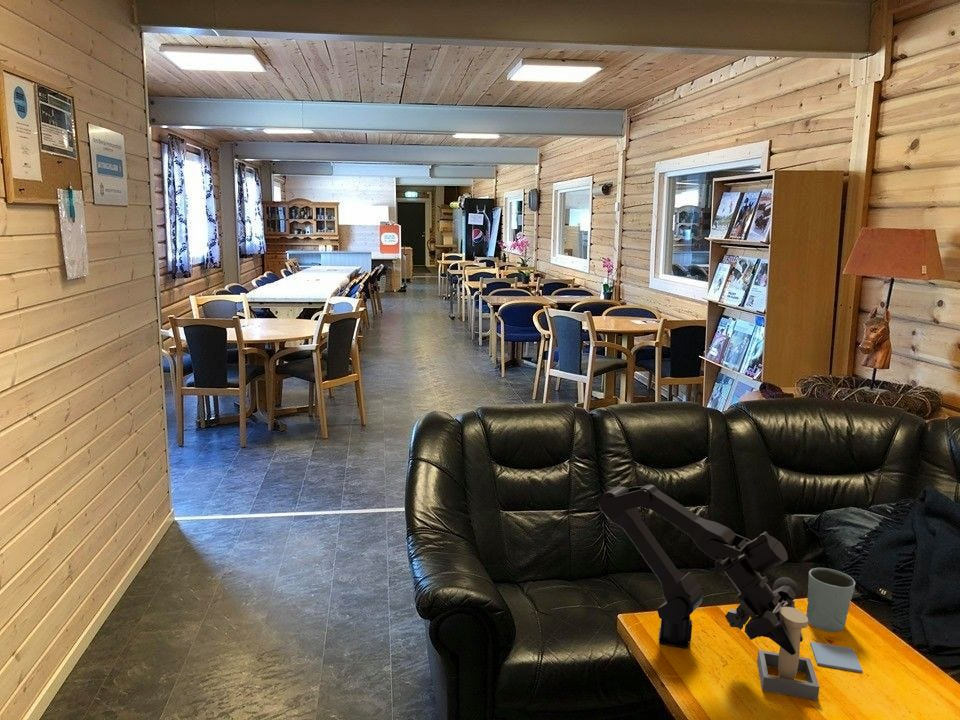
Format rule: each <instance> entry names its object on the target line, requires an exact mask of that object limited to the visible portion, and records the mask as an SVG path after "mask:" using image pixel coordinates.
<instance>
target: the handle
mask: <svg viewBox="0 0 960 720" xmlns="http://www.w3.org/2000/svg"><path fill="white" fill-rule="evenodd" d="M780 619H783V620H784V623H785V625H786V628H787V630H788V633H789V635H790V637H791V640H792V642H793V645H794V648H795V650H796V654H794V655H791V654H789V653H788V652H787V651H786V650H784V649H783V648H782V647H781V646H779V651H778V653H779V659H778V668H777V669H778V670H777V671H778V676H777V677H781V678H786V679H792V680H796V676H797V673H798V672H797V669H798V664H799V657H800V651H801V650H800V649H801V642H800V634H801V635H802V629H806V628H807V627H808V624H809V623H808V618H807V616H806V614H805V613H804V612H803V611H802V610H799V609H798V608H796V607H795V608H792V607H781V608H780Z"/></svg>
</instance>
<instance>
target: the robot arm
mask: <svg viewBox="0 0 960 720" xmlns="http://www.w3.org/2000/svg"><path fill="white" fill-rule="evenodd" d="M642 506H645V507H646V508H648V509H650V510H651V511H653V512H654V513H655V514H657V515H658V516H660V517H661V518H663V519H664V520H666V521H667V522H668V523H671V524H672V525H674V526H675V527H676V528H678V529H679V530H681V531H682V532H683V533H685V534H686V535H688V536H689V537H690V538H691V540H692V541H693V542H694V544H695V545H696V547H697V548H698V549H699V550H701V552H702V553H704V554H705V555H706V556H707V557H708V558H710V559H712V560H715V561H714V565H715V566H714V571H713V573H714V575H715V576H717V575H719V574H720V573H723V572H724V573H725V575H726V577H728V579H729V580H730V581H731V583H732V584H733V585H734V587H735V588H736V589H737V591H738V594H737V599H738V601H739V602H740V603H739V604H738V606H737V607H736V609H734V608H730V609H729V610H728V611H727V612H726V614H725V616H724V617H725V619H726V621H727V623H728V624H729V627H731V628H737V629H739V630H740V631H742V629H743V628H744V633H745V635H746V636H747V637H748V638H749V640H750V641H752V640H754V639H756V638H761V637H763V638H768V639H770V640H771V641H773V642H774V643H775V644H777V645H778V646H779V647H780V646H781V647H782V648H783V649H784V650H786V651H787V652H788V653H789V654H791V655H794V654H796V650H795V648H794V645H793V642H792V640H791V637H790V635H789V633H788V630H787V628H786V625H785V623H784V620H783V619H780V608H781V607H792V608H796V605H795V600H793V601H792V602H790V603H787V601H785V600H787V599H790V600H792V599H793V598H794V597H795V595H796V594H795V592H794V591H793V590H792V588H791V587H789V586H785V585H784V586H782V587H780V588H778V589H776V590H775V591H773V590H772V589H771V588H770V585H769V584H767V583H768V582H769V579H768V577H767V576H766V575H764V576H763V577H762V575H761V574H760V573H763V574H765V573H767V572H769V571H771V570H772V569H774V568H776V567H778V566H779V565H781V564H783V563H784V562H786V561H788V559H789V557H788V552H787V550H786V549H785V547H784V545H783V544H782V542H781V541H779V540H778V539H777V538H775V537H774V536H772V535H770V534H769V533H768V531H764V532H763V533H761V534H760V535H759V536H757V537H756V538H754V539H753V540H751V539H749V538H747V537H744V536H742V535H739V534H737V533H735V532H734V531H733V530H732V529H731V528H729V526H728V527H727V526H725V525H723V524H721V523H719V522H716V521H713V520H709V519H705V518H703V517H701V516H699V515H697V513H694V512H693V511H692V510H690V509H689V508H686V507H685V506H684V505H682V504H680V502H678V501H676V500H675V499H673V498H671V497H670V496H668V495H667V494H666V493H664V492H662V491H661V490H660V489H658V487H656V485H654V484H646V485H640V486H632V487H626V486H622V485H620V486H615V487H613V488H611V489H610V490H608V491H605V493H602V495H601V496H600V497H599V502H598V507H599V509H600V511H601V513H603V514H604V516H606V517H607V518H608V520H609V521H610V522H612V523H613V524H615V525H616V526H618V527H619V528H621V529H622V530H623V531H624V532H625V534H626V535H627V536H628V538H629V539H630V541H631V542H632V543H633V545H634V546H635V548H636V550H637V551H638V552H639V553H640V555H641V556H642V558H643V559H644V561H645V562H646V563H647V565H648V566H649V568H650V569H651V570H652V572H653V573H654V575H655V576H656V577H657V579H658V580H659V582H660V585H661V590H662V594H663V598H664V600H665V601H664V602H663V603H662V604H661V605H660V606H659V607H658V608H657V610H656V611H657V615H658V618H659V619H660V628H659V630H658V631H659V634H658V643H659V644H661V645H667V646H673V647H677V648H684V649H688V648H689V647H690V646H689V644H690V643H691V640H692V633H693V632H692V631H693V621H692V619H691V615H692V614H693V613H694V612H695V611H696V609H698V607H699V606H700V605H701V604H702V602H703V599H704V594H703V590H702V589H701V588H702V585H701V584H700V583H699V582H698V581H697V580H696V578H695V576H694V574H693V573H692V572H691V571H689V572H687V574H685V573H684V572H682V571H680V570H679V569H678V568H677V567H676V565H675V564H674V563H673V561H672V559H670V557H669V556H668V554H667V552H666V551H665V550H664V549H663V547H662V546H661V544H660V543H659V542H658V540H657V539H656V537H655V536H654V535H653V533H652V532H651V531H650V529H649V528H648V526H647V525H646V523H645V521H644V520H642V518H641V515H640V512H639V507H642ZM803 639H804V638H803V635H802V633H801V634H800V643H802V642H803Z"/></svg>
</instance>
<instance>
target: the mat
mask: <svg viewBox="0 0 960 720" xmlns="http://www.w3.org/2000/svg"><path fill="white" fill-rule="evenodd" d="M809 642H810V643H809V645H810V648H811V651H812V653H813V656H814V657H813V658H814V660H815V662H816V665H817V666H821V667H827V668H833V669H839V670H845V671H850V672H856V673H862V674H863V672H864V670H863V668H862V666H861V663H860V662H859V659H858V657H857V654H856V652H855V650H854V648H852V647H847V646H842V645H834V644H829V643H824V642H823V643H822V642H815V641H809Z"/></svg>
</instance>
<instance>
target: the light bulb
mask: <svg viewBox="0 0 960 720" xmlns="http://www.w3.org/2000/svg"><path fill="white" fill-rule="evenodd" d="M784 585H785V586H789V587H791V588H792V590H793V591H794V592H795V594H796V595H795V597H794V598H793V599H792V600H790V599H787V600H785V601H787V603H790V602H792V601H795V599H796V598H797V596H798V594H799V587H798V584H797V583H796V582H795V581H794V580H793V579H792V578H790V577H787V576H781V577H779V578H777V579H776V580H775V581H774V583H773V586H772V589H773V590H772V591H775V590H776V589H778V588H780V587H782V586H784Z"/></svg>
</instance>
